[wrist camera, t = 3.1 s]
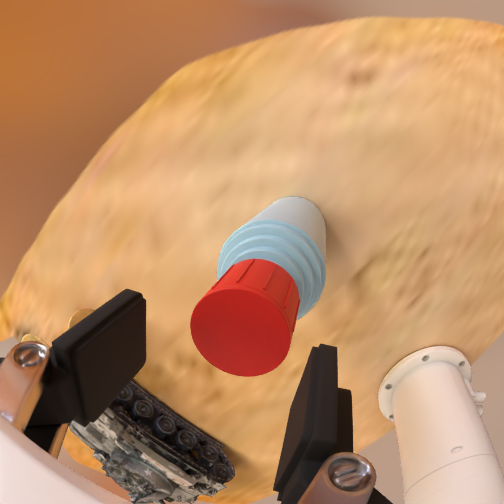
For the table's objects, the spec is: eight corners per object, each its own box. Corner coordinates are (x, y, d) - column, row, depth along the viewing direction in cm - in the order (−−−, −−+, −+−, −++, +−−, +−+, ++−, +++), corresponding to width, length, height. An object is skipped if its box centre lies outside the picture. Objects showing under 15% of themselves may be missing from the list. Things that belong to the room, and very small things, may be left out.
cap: (308, 269, 14) (302, 304, 11) (289, 340, 15) (277, 387, 12) (225, 249, 15) (194, 276, 11) (214, 320, 16) (186, 360, 12)
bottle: (332, 204, 29) (345, 276, 10) (317, 267, 31) (299, 407, 12) (266, 190, 30) (173, 234, 11) (255, 252, 32) (164, 366, 13)
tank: (208, 485, 47) (182, 542, 33) (79, 393, 47) (32, 439, 33) (256, 461, 41) (231, 535, 27) (97, 348, 42) (35, 402, 28)
